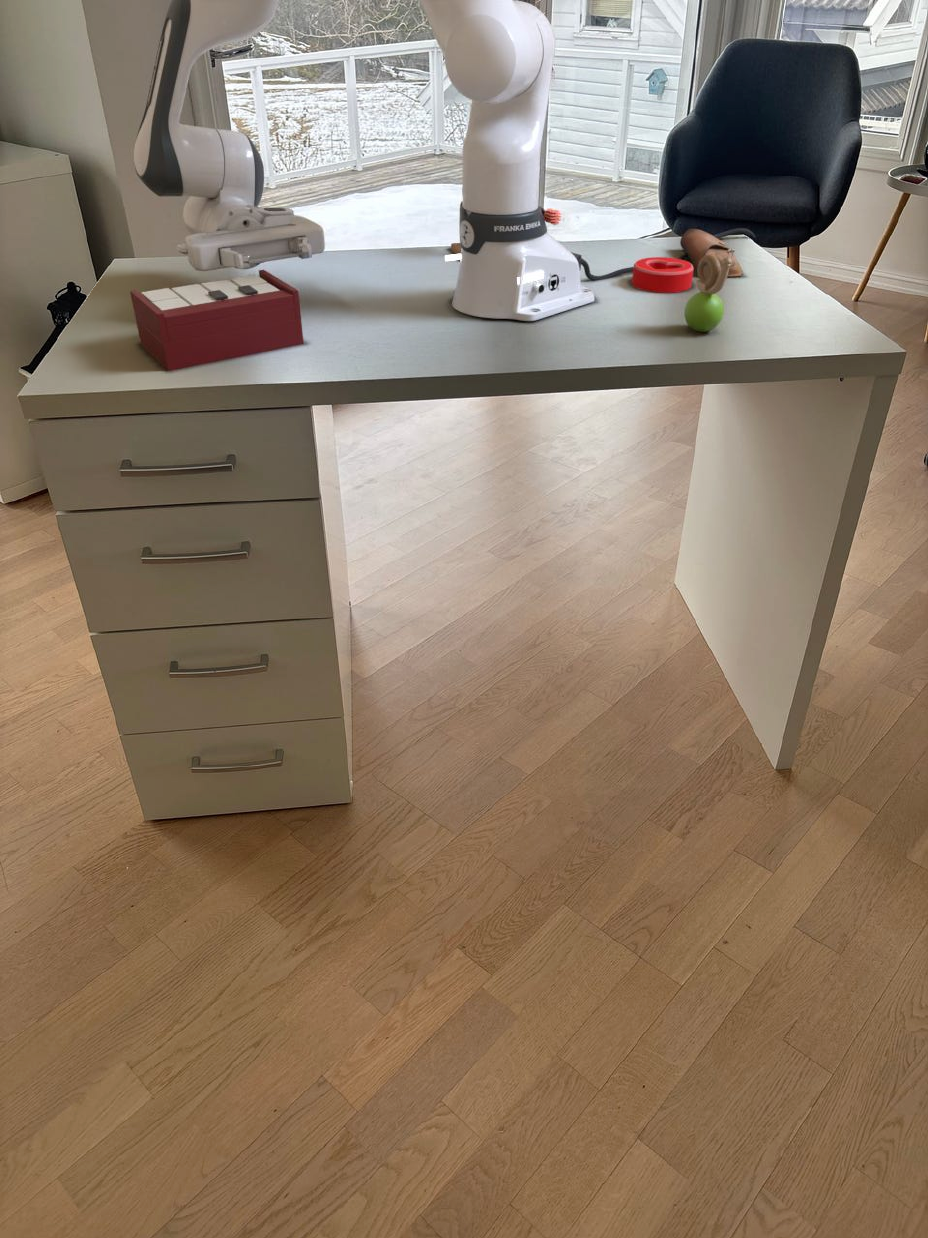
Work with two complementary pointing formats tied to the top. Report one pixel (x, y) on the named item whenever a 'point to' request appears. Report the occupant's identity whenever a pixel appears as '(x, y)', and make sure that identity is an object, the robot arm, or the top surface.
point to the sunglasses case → (707, 249)
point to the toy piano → (219, 321)
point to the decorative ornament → (662, 274)
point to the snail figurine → (708, 294)
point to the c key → (247, 280)
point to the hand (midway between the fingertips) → (276, 257)
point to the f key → (159, 295)
